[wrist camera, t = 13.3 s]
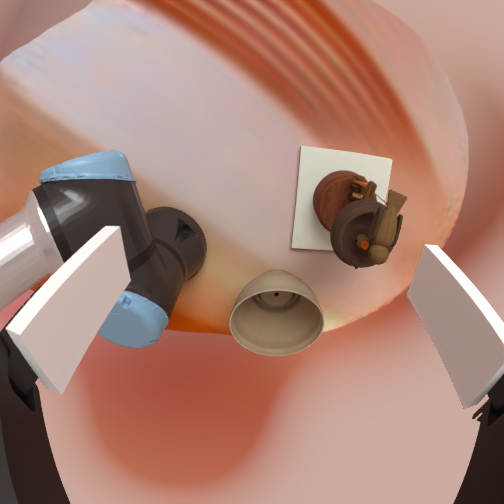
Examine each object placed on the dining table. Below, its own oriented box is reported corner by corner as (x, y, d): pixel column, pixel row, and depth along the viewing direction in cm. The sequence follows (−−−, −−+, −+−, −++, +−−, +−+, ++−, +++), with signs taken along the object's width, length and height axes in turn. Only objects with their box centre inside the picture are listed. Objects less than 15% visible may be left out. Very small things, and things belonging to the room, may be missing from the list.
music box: (309, 160, 41) (359, 197, 23) (371, 161, 41) (445, 198, 23) (307, 245, 48) (341, 322, 30) (363, 241, 48) (415, 309, 30)
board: (291, 245, 49) (291, 247, 48) (300, 145, 40) (301, 146, 40) (372, 251, 49) (373, 253, 48) (390, 158, 40) (392, 159, 39)
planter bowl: (232, 255, 51) (224, 290, 41) (318, 253, 50) (329, 288, 40) (238, 319, 59) (233, 356, 49) (312, 317, 57) (318, 355, 48)
